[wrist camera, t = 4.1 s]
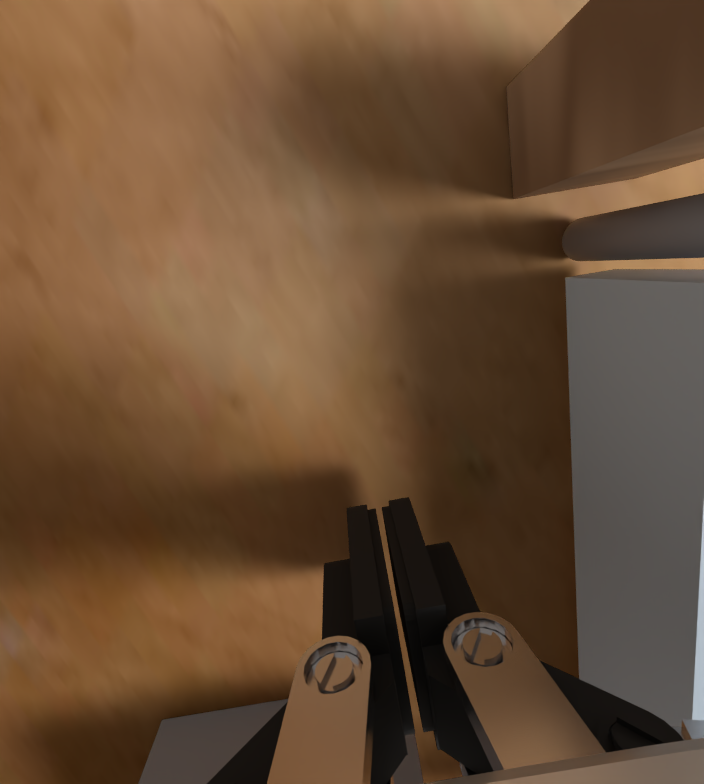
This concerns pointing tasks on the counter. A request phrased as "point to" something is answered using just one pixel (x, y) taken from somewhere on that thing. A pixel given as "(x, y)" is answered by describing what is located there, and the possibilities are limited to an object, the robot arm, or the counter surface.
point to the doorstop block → (227, 745)
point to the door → (639, 456)
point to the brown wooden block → (610, 97)
